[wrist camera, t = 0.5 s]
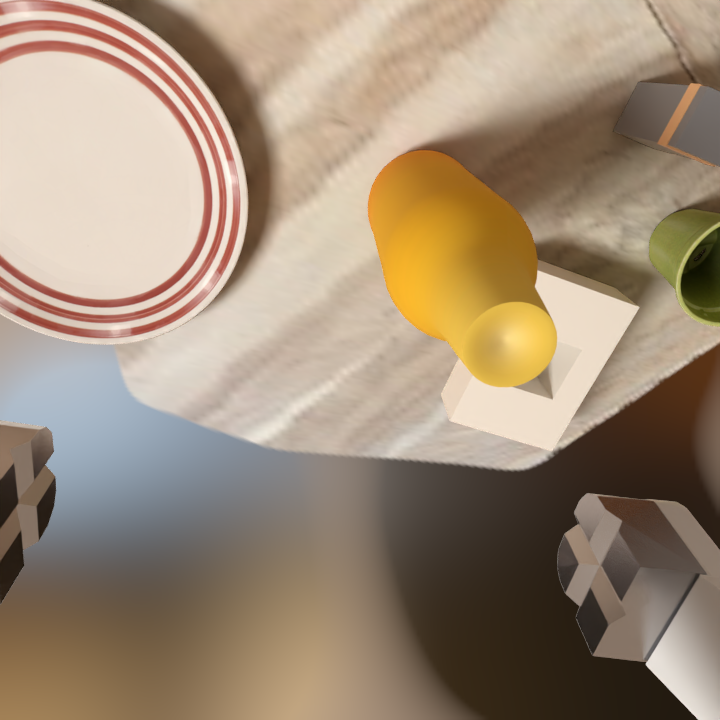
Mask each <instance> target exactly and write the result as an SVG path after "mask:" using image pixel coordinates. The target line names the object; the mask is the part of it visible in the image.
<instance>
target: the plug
mask: <svg viewBox="0 0 720 720" xmlns="http://www.w3.org/2000/svg"><path fill="white" fill-rule="evenodd" d="M613 132H616V133H618V134H620V135H623V136H625V137H627V138H630V139H632V140H634V141H637V142H639V143H641V144H644V145H646V146H649V147H651V148H653V149H657V150H661V151H664V152H668V153H672V154H676V155H679V156H683V157H687V158H690V159H694V160H697V161H699V162H701V163H704V164H706V165H710V166H714V167H715V165H716V166H720V91H717V90H715V89H713V88H711V87H708V86H704V85H701V84H694V83H690V85H678V84H663V83H648V82H638V84H637V86H636V88H635V90H634V91H633V93H632V95H631V97H630V99H629V101H628V103H627V105H626V107H625V109H624V111H623V113H622V115H621V117H620V119H619V120H618V122H617V124H616V126H615V128H614V130H613Z"/></svg>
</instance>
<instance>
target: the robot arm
mask: <svg viewBox="0 0 720 720" xmlns="http://www.w3.org/2000/svg"><path fill="white" fill-rule="evenodd" d="M53 452H54V448H53V439H52V433H51V431H50V430H49V429H48V428H47V427H42V426H36V425H28V424H22V423H15V422H7V421H0V604H1V603H2V601H3V600H4V598H5V596H6V595H7V593H8V591H9V590H10V588H11V586H12V585H13V583H14V582H15V580H16V578H17V576H18V575H19V573H20V572H21V570H22V568H23V567H24V556H23V550H24V549H26V548H28V547H29V546H31V545H33V544H35V543H36V542H38V541H39V540H40V538H41V536H42V535H43V533H44V531H45V529H46V527H47V526H48V523H49V520H50V517H51V514H52V511H53V508H54V503H55V494H56V479H55V476H54V475H53V473H52V472H51V471H50V470H49V469H48V468H47V466H46V465H45V464H46V463H47V461H48V459H49V458H50V457H51V455H52V454H53ZM574 514H575V516H576V519H577V522H578V525H576V526H575V527H573V528H572V529H571V530H569V531H568V532H566V533H565V534H564V537H563V539H562V542H561V544H560V547H559V549H558V564H557V568H558V573H559V579H560V582H561V584H562V587H563V589H564V592H565V594H567V595H568V596H569V597H570V598H571V599H572V600H573V601H574V602H576V603H577V604H578V605H579V606H580V607H579V610H578V613H577V615H576V619H577V622H578V624H579V626H580V628H581V631H582V633H583V635H584V637H585V640H586V642H587V644H588V647H589V649H590V651H591V653H592V655H593V656H599V657H608V658H616V659H625V660H634V661H642V662H647V663H646V666H647V667H648V668H649V669H650V670H652V672H653V673H654V674H655V675H656V676H657V677H658V678H659V679H660V680H661V681H662V682H663V683H664V684H665V685H666V686H667V687H668V689H670V691H671V692H672V693H673V694H674V695H675V696H676V697H677V698H678V699H679V700H680V701H681V702H682V703H683V704H684V705H685V706H686V707H687V708H688V709H689V710H690V711H691V713H692V714H693V715H694V716H695V717H696V718H697V719H698V720H720V550H719V549H718V547H717V546H716V545H715V544H714V542H713V541H712V540H711V539H710V538H709V536H708V535H707V534H706V532H705V531H704V530H703V528H702V527H701V526H700V525H699V523H698V522H697V521H696V520H695V518H694V517H693V516H692V514H691V513H690V512H689V511H688V509H687V508H686V507H684V506H683V505H681V504H679V503H678V502H672V501H662V500H651V499H646V500H641V499H632V498H623V497H615V496H606V495H598V494H589V493H587V494H586V495H585V496H584V497H583V498H582V499H581V500H580V501H579V503H578V506H577V507H576V510H575V512H574Z"/></svg>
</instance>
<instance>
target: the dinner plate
mask: <svg viewBox="0 0 720 720" xmlns="http://www.w3.org/2000/svg"><path fill="white" fill-rule="evenodd" d="M247 223H248V187H247V180H246V173H245V168H244V163H243V160H242V156H241V153H240V149H239V146H238V143H237V140H236V138H235V135H234V133H233V130H232V128H231V125H230V123H229V121H228V119H227V117H226V115H225V113H224V111H223V109H222V108H221V106H220V104H219V103H218V101H217V99H216V98H215V96H214V95H213V93H212V92H211V90H210V89H209V87H208V86H207V84H206V83H205V82H204V81H203V79H202V78H201V77H200V75H199V74H198V73H197V72H196V71H195V70H194V68H193V67H192V66H191V65H190V64H189V63H188V62H187V61H186V60H185V59H184V58H183V57H182V56H181V55H180V54H179V53H178V52H177V51H176V50H175V49H174V48H173V47H172V46H171V45H170V44H168V43H167V42H166V41H165V40H164V39H162V38H161V37H160V36H159V35H157V34H156V33H155V32H153V31H152V30H150V29H149V28H147V27H146V26H145V25H143V24H142V23H140V22H139V21H137V20H135V19H134V18H132V17H130V16H129V15H127V14H125V13H123V12H121V11H119V10H117V9H115V8H113V7H111V6H108V5H106V4H103V3H101V2H98V1H96V0H0V314H2V315H3V316H5V317H7V318H8V319H10V320H12V321H14V322H16V323H18V324H20V325H23V326H25V327H27V328H29V329H32V330H34V331H37V332H40V333H43V334H46V335H49V336H53V337H56V338H60V339H63V340H68V341H74V342H79V343H87V344H125V343H132V342H138V341H143V340H147V339H151V338H154V337H157V336H160V335H163V334H165V333H167V332H170V331H172V330H174V329H176V328H178V327H179V326H181V325H183V324H185V323H186V322H188V321H189V320H191V319H192V318H194V317H195V316H196V315H198V314H199V313H200V312H201V311H202V310H204V309H205V308H206V307H207V306H208V305H209V304H210V303H211V302H212V301H213V300H214V298H215V297H216V296H217V295H218V294H219V292H220V291H221V290H222V288H223V287H224V285H225V284H226V283H227V281H228V279H229V278H230V276H231V274H232V272H233V270H234V268H235V266H236V264H237V261H238V259H239V256H240V253H241V251H242V247H243V243H244V240H245V234H246V228H247Z"/></svg>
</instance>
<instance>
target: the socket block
mask: <svg viewBox="0 0 720 720" xmlns="http://www.w3.org/2000/svg"><path fill="white" fill-rule="evenodd" d="M535 288H536V290H537V292H538V294H539V296H540V297H541V299H542V301H543V303H544V305H545V307H546V308H547V310H548V312H549V314H550V316H551V318H552V320H553V322H554V325H555V328H556V331H557V347H556V350H555V354H554V356H553V358H552V360H551V362H550V363H549V364H548V366H547V367H546V368H545V369H544V370H543V371H542V372H541V373H540V374H539V375H538V376H536V377H535V378H534V379H532V380H530V381H528V382H526V383H524V384H521V385H518V386H513V387H495V386H490V385H487V384H485V383H483V382H481V381H479V380H478V379H477V378H475V377H474V376H473V375H472V374H471V373H470V371H469V370H468V369H467V368H466V366H465V365H464V364H463V362H462V361H461V360H460V358H458V361H457V363H456V365H455V367H454V369H453V371H452V373H451V375H450V377H449V379H448V381H447V383H446V385H445V387H444V389H443V391H442V393H441V396H442V399H443V402H444V405H445V408H446V411H447V414H448V417H449V420H450V421H451V422H455V423H458V424H461V425H465V426H468V427H471V428H475V429H478V430H482V431H485V432H488V433H492V434H495V435H498V436H502V437H505V438H509V439H512V440H515V441H519V442H522V443H525V444H529V445H532V446H536V447H539V448H542V449H546V450H549V451H552V450H553V449H554V447H555V445H556V444H557V442H558V440H559V439H560V437H561V436H562V434H563V432H564V431H565V429H566V427H567V426H568V424H569V422H570V421H571V419H572V417H573V416H574V414H575V413H576V411H577V409H578V408H579V406H580V404H581V403H582V401H583V399H584V398H585V396H586V395H587V393H588V391H589V390H590V388H591V386H592V385H593V383H594V381H595V380H596V378H597V376H598V375H599V373H600V372H601V370H602V368H603V367H604V365H605V363H606V362H607V360H608V358H609V357H610V355H611V353H612V352H613V350H614V349H615V347H616V345H617V344H618V342H619V340H620V339H621V337H622V335H623V334H624V332H625V330H626V329H627V327H628V326H629V324H630V322H631V321H632V319H633V317H634V316H635V314H636V312H637V311H638V309H639V308H640V307H639V306H637V305H636V304H635V303H634V302H632V301H631V300H630V299H629V298H627V297H626V296H625V295H624V294H622V293H621V292H620V291H619V290H617V289H616V288H615V287H612V286H609V285H606V284H604V283H601V282H598V281H595V280H593V279H590V278H587V277H585V276H582V275H579V274H576V273H574V272H571V271H568V270H565V269H563V268H560V267H557V266H555V265H552V264H549V263H546V262H544V261H541V260H538V270H537V280H536V284H535Z"/></svg>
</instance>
